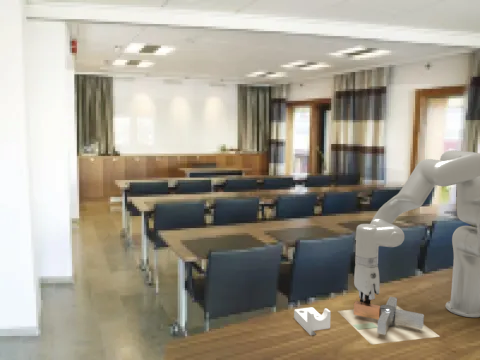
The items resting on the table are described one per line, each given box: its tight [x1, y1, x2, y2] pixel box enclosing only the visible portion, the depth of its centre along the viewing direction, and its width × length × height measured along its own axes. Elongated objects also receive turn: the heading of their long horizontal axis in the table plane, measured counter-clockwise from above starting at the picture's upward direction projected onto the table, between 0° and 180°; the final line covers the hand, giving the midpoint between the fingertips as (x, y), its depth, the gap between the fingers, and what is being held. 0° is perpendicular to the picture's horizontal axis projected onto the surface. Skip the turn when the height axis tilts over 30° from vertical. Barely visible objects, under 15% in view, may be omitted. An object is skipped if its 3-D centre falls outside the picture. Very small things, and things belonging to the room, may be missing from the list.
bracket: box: [293, 307, 332, 336], centre depth 146 cm, size 13×7×8 cm, turn 17°
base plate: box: [337, 305, 441, 345], centre depth 145 cm, size 24×24×2 cm
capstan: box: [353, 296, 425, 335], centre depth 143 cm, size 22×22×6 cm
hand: (364, 310), depth 150 cm, fingers closed
